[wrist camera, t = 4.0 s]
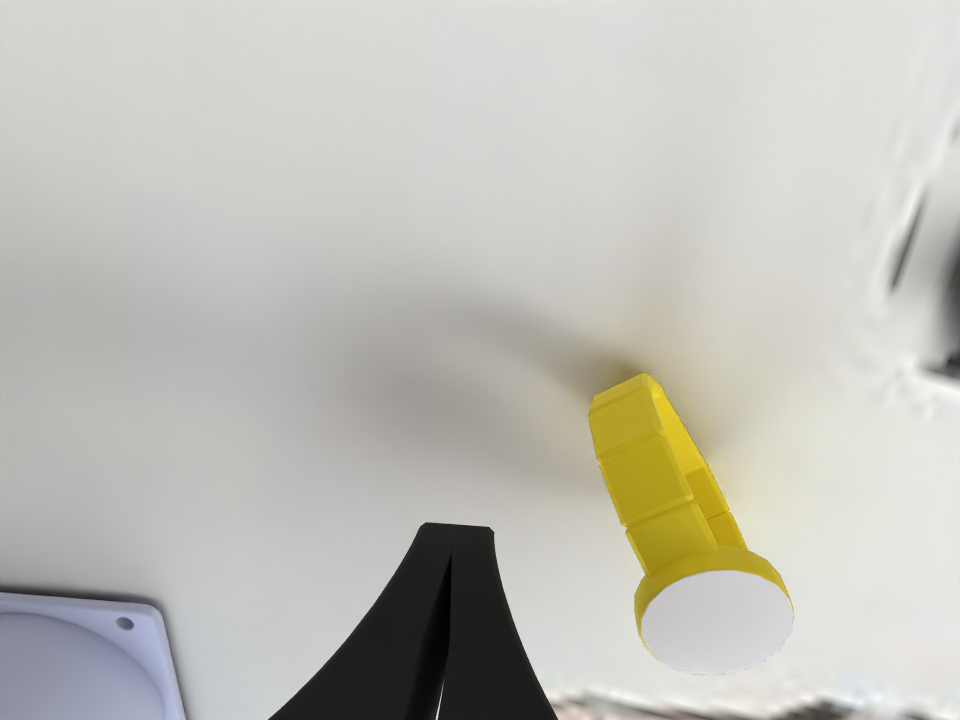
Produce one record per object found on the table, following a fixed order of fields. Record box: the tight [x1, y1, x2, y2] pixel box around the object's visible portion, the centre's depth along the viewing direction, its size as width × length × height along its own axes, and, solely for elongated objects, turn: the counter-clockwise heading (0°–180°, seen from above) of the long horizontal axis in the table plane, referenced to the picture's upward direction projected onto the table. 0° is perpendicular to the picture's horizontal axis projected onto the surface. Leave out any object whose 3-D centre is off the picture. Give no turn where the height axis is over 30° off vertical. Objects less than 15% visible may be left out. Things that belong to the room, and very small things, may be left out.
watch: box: [588, 373, 794, 675], centre depth 16 cm, size 6×3×6 cm, turn 32°
